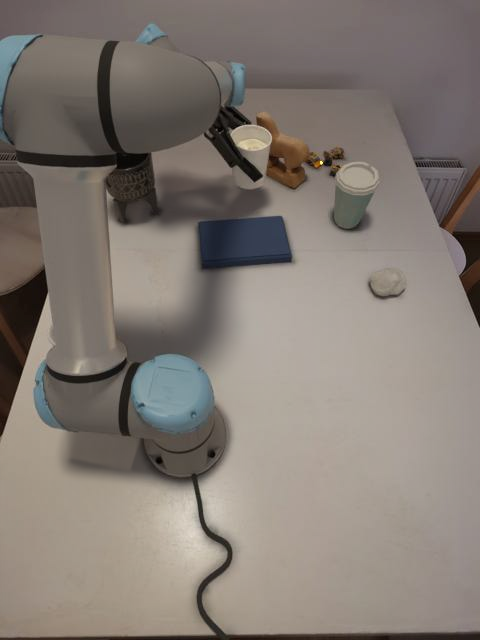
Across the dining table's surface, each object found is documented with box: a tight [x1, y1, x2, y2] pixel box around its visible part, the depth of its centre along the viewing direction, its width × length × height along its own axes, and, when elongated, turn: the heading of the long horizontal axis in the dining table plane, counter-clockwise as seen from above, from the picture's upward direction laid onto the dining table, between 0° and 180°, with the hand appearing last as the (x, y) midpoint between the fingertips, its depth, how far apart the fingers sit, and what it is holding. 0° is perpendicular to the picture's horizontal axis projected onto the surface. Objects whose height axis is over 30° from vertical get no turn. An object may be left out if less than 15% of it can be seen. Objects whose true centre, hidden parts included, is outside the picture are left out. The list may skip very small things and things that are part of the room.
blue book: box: [197, 215, 293, 270], centre depth 108 cm, size 14×22×2 cm, turn 97°
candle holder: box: [230, 124, 272, 190], centre depth 106 cm, size 10×10×12 cm
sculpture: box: [255, 110, 311, 189], centre depth 119 cm, size 6×17×15 cm, turn 50°
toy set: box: [305, 146, 345, 176], centre depth 126 cm, size 12×11×5 cm
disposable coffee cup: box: [333, 161, 380, 229], centre depth 108 cm, size 11×11×15 cm
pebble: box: [368, 267, 408, 297], centre depth 100 cm, size 9×8×5 cm
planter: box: [106, 152, 159, 224], centre depth 108 cm, size 13×13×18 cm
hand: (262, 166), depth 107 cm, fingers closed on candle holder, 9 cm apart
